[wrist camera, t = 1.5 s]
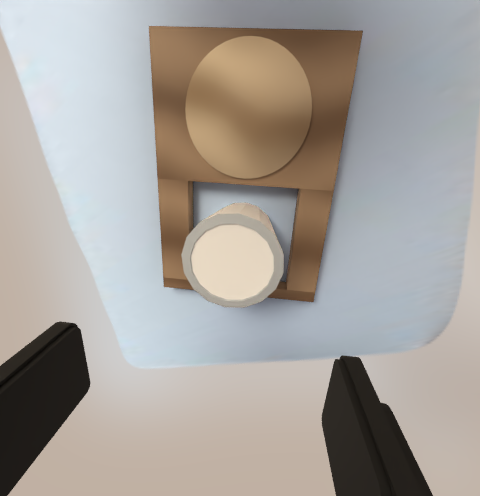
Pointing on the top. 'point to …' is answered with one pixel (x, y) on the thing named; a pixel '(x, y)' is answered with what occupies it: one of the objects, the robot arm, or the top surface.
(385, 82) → the top surface
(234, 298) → the cream short cylinder
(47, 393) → the robot arm
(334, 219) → the top surface
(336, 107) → the pocket board
